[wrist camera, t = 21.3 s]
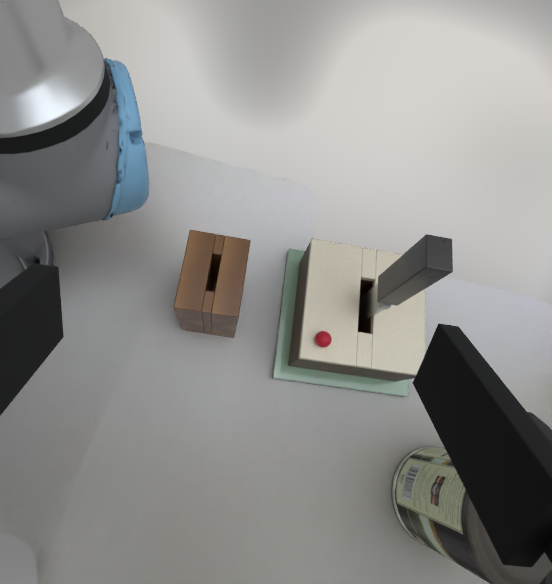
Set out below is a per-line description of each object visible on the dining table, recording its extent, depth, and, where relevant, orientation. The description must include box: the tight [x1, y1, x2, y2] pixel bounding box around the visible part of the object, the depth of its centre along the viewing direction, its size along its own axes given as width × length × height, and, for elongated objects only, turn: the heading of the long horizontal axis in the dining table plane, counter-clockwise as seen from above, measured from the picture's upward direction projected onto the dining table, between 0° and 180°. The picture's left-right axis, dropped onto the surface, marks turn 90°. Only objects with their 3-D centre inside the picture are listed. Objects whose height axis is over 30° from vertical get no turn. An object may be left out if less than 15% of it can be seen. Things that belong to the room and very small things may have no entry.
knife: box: [358, 235, 453, 326], centre depth 38 cm, size 2×3×21 cm, turn 173°
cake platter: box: [272, 249, 409, 397], centre depth 48 cm, size 16×16×1 cm
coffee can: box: [392, 447, 552, 584], centre depth 38 cm, size 10×10×14 cm
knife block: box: [174, 230, 250, 338], centre depth 43 cm, size 6×8×10 cm
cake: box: [288, 239, 425, 382], centre depth 44 cm, size 13×13×8 cm
